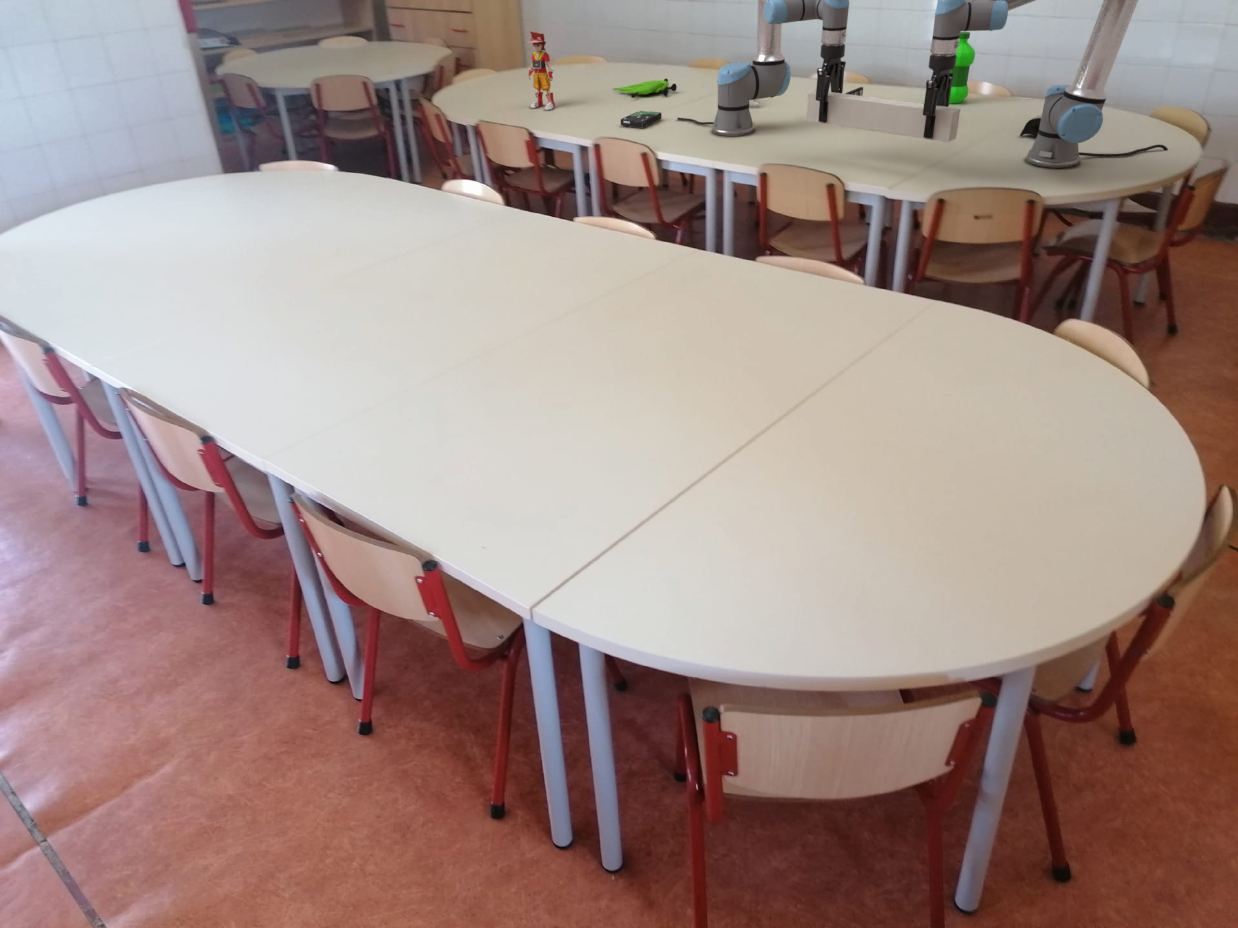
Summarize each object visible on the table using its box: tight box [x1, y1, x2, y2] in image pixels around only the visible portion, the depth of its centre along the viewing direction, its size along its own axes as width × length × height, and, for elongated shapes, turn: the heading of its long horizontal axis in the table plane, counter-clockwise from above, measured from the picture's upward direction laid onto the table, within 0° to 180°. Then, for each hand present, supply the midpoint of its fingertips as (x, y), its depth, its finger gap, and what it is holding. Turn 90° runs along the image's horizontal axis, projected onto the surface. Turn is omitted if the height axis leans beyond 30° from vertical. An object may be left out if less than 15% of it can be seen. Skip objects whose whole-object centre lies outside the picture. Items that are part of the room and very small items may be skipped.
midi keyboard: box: [844, 86, 864, 96], centre depth 358 cm, size 18×1×5 cm, turn 138°
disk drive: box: [620, 110, 663, 129], centre depth 352 cm, size 10×3×15 cm
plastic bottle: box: [949, 31, 976, 104], centre depth 348 cm, size 10×10×25 cm
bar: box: [805, 89, 961, 143], centre depth 284 cm, size 50×5×9 cm, turn 47°
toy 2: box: [612, 78, 677, 99], centre depth 396 cm, size 28×5×30 cm
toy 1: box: [527, 31, 556, 111], centre depth 374 cm, size 12×9×30 cm
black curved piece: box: [1019, 113, 1042, 139], centre depth 316 cm, size 30×9×10 cm
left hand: (827, 119), depth 297 cm, fingers closed on bar, 5 cm apart
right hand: (932, 135), depth 276 cm, fingers closed on bar, 5 cm apart
